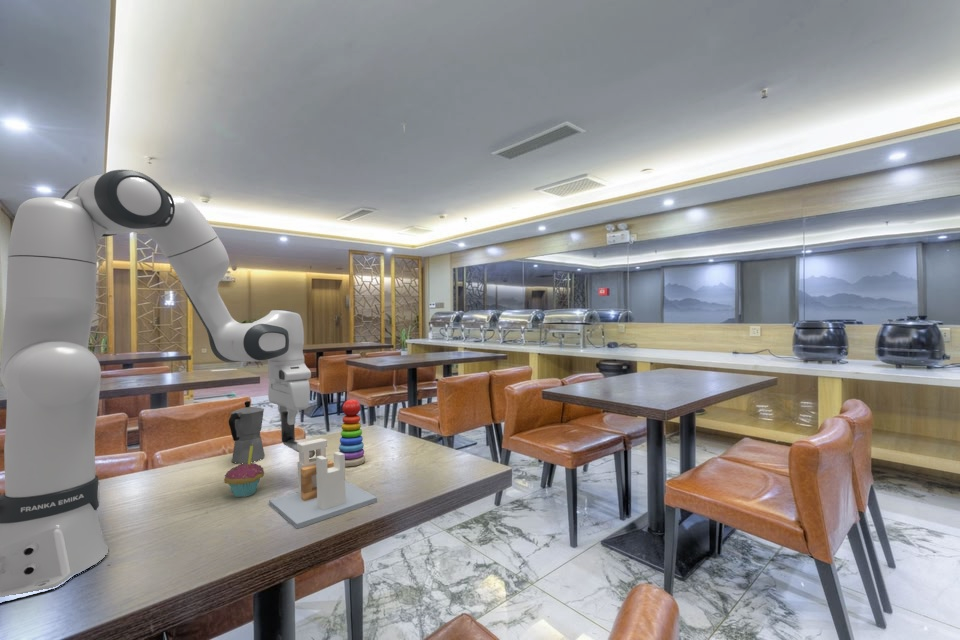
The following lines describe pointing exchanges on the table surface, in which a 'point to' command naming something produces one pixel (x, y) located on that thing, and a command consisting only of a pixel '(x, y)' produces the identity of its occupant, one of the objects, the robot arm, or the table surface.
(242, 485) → the cupcake
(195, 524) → the table surface
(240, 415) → the coffeepot
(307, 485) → the collar
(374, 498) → the stand
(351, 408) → the stacking toy
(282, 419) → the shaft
